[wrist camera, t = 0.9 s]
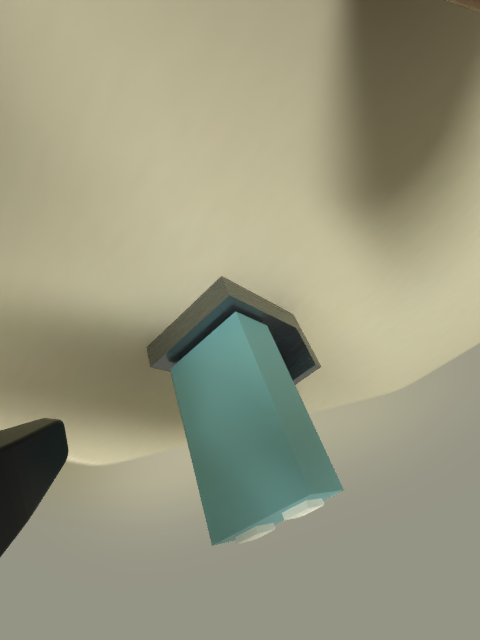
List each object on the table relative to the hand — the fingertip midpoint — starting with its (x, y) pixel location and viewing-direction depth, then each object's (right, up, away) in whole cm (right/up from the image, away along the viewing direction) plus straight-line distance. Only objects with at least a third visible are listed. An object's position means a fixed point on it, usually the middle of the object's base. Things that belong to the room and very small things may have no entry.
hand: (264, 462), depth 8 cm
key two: (-2, +1, +15) cm, 15 cm away
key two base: (-2, +2, +17) cm, 17 cm away
